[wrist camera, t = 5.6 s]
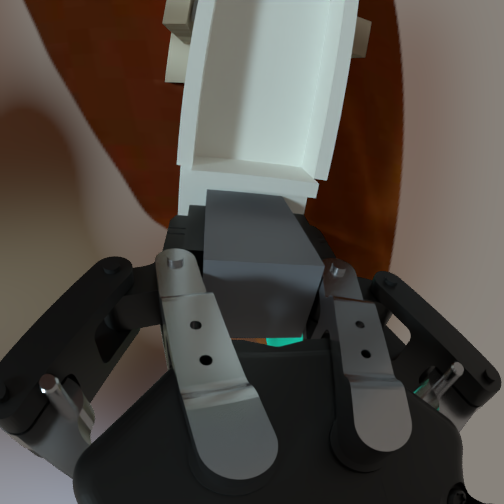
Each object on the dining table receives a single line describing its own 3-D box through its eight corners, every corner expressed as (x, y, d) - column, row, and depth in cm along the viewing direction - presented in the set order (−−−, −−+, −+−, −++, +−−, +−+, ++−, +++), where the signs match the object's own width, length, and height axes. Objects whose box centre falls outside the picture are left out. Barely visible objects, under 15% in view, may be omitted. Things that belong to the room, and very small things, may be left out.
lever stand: (181, -14, 14) (160, -65, 6) (328, 9, 16) (395, -18, 8) (166, 81, 18) (131, 88, 10) (311, 99, 20) (370, 120, 12)
